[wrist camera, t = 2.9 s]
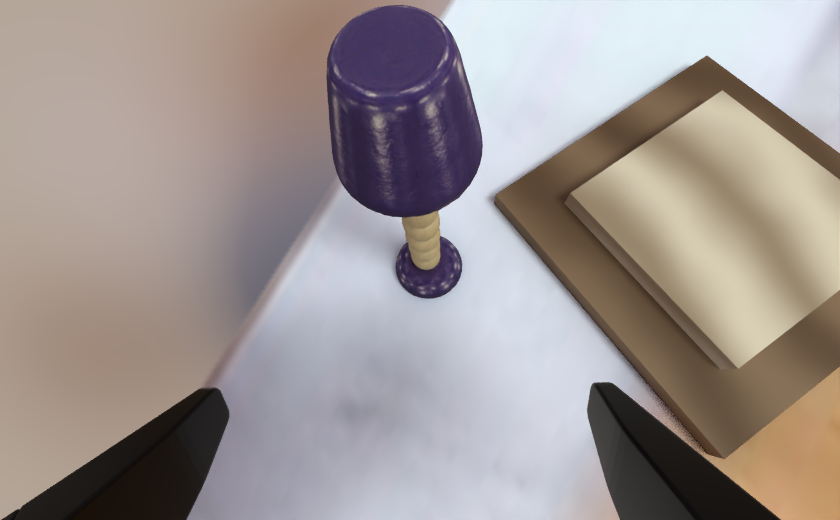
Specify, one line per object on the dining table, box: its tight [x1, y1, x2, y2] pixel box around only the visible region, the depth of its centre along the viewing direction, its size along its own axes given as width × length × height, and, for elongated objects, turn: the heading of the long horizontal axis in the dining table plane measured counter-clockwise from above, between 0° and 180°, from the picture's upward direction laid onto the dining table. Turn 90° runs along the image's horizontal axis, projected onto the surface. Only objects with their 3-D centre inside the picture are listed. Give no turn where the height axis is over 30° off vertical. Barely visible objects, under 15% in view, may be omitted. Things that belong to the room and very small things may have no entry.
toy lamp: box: [327, 5, 483, 298], centre depth 16 cm, size 5×5×17 cm
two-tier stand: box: [495, 56, 840, 459], centre depth 22 cm, size 18×18×2 cm
